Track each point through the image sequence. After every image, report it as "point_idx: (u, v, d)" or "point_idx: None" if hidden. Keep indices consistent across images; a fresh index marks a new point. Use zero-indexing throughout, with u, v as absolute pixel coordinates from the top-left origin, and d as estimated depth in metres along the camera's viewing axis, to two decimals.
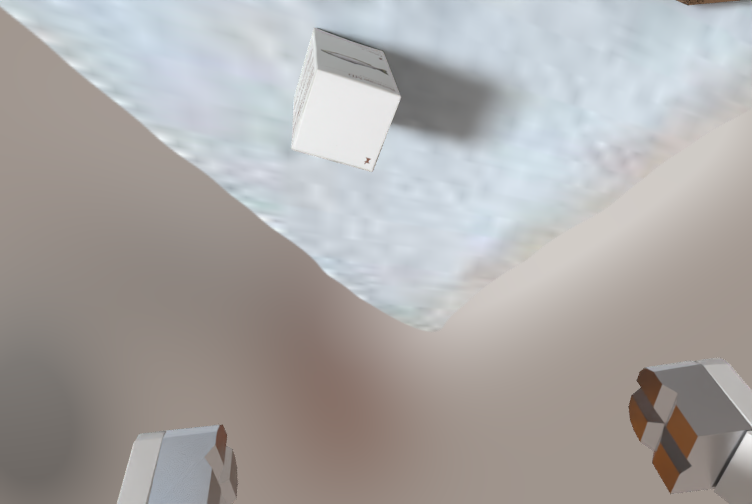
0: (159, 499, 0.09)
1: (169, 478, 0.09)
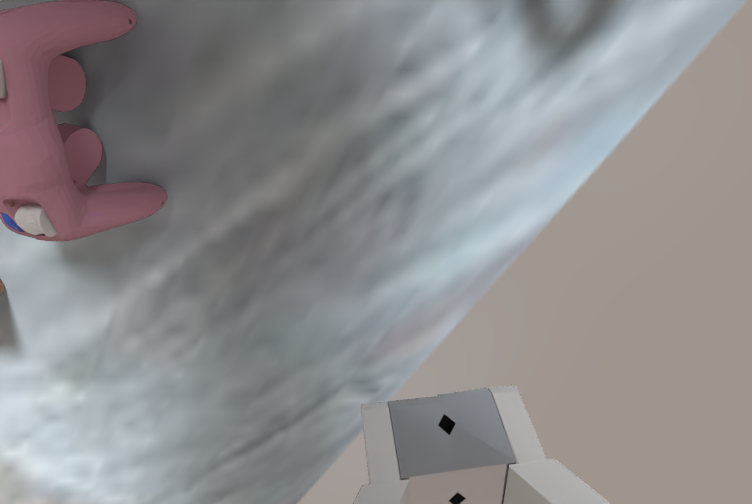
0: (409, 464, 0.09)
1: (411, 445, 0.09)
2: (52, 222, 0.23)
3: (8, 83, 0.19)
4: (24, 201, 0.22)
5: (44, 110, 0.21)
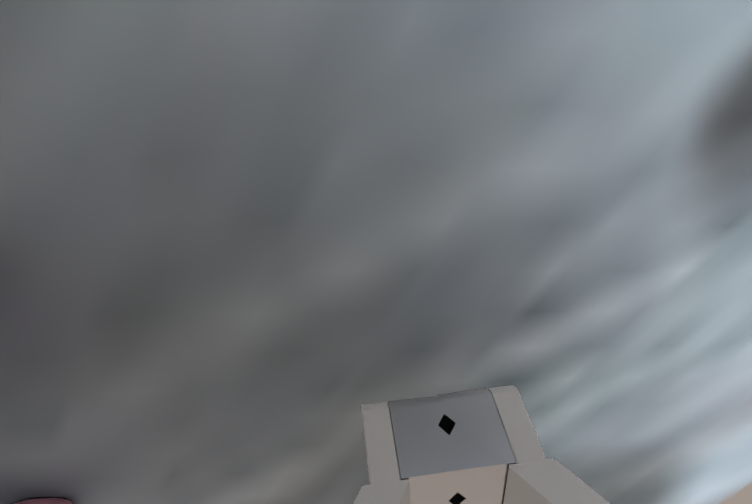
0: (409, 464, 0.09)
1: (411, 445, 0.09)
2: None
3: None
4: None
5: None
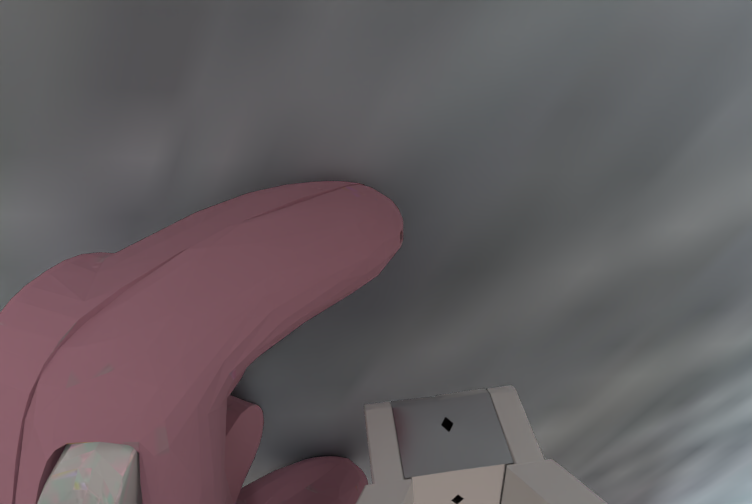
0: (412, 464, 0.09)
1: (414, 444, 0.09)
2: None
3: (149, 497, 0.07)
4: None
5: (220, 501, 0.08)
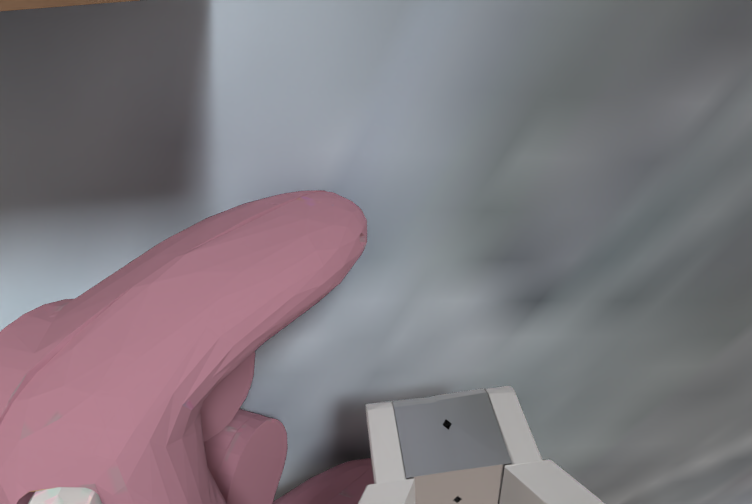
0: (414, 464, 0.09)
1: (416, 444, 0.09)
2: None
3: None
4: None
5: None
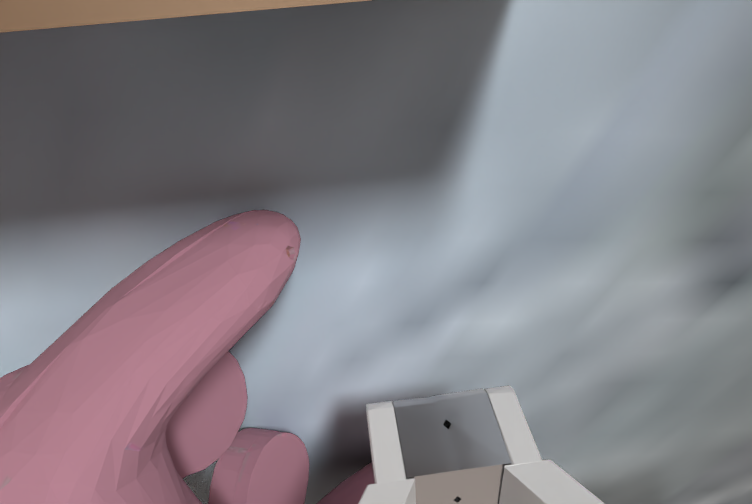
0: (414, 463, 0.09)
1: (416, 444, 0.09)
2: None
3: None
4: None
5: None
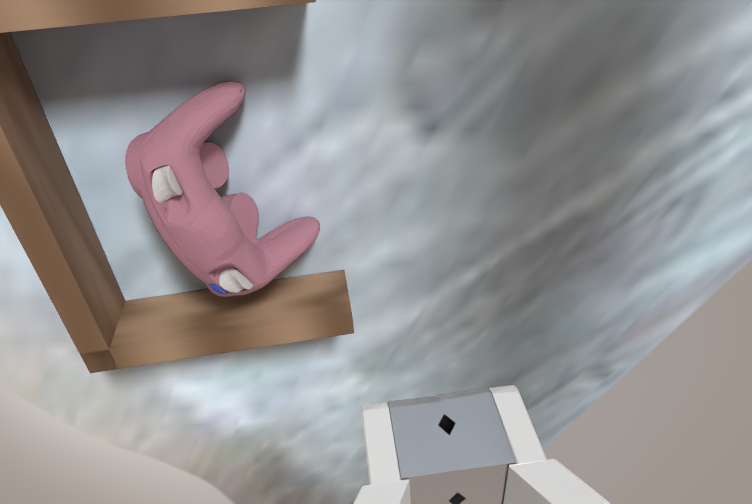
0: (409, 464, 0.09)
1: (411, 445, 0.09)
2: (247, 277, 0.27)
3: (180, 181, 0.24)
4: (221, 268, 0.27)
5: (210, 191, 0.25)
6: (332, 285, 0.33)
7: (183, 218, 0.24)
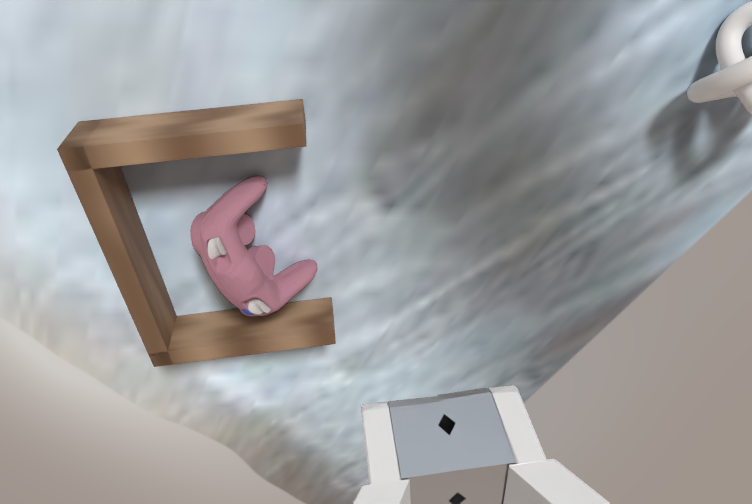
0: (409, 464, 0.09)
1: (411, 445, 0.09)
2: (266, 304, 0.40)
3: (225, 246, 0.37)
4: (249, 299, 0.40)
5: (243, 251, 0.38)
6: (322, 309, 0.46)
7: (226, 269, 0.37)
